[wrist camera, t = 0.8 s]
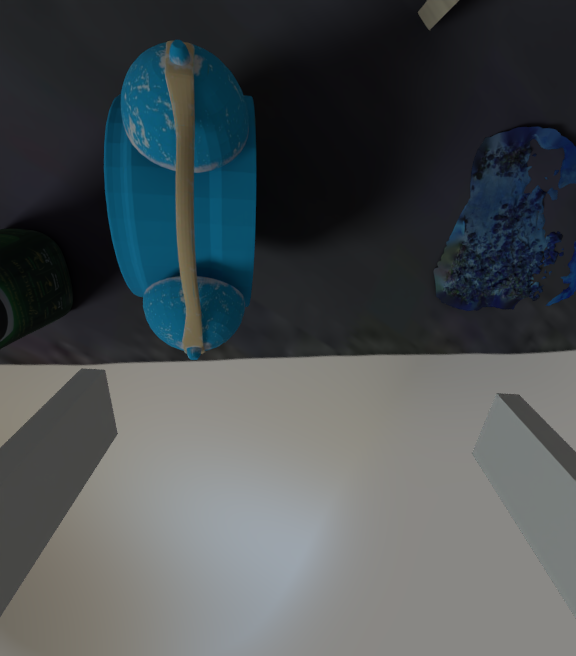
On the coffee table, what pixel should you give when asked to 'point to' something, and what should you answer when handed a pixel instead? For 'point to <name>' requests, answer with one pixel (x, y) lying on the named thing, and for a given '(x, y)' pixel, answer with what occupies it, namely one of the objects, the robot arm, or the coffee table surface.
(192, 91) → the alarm clock
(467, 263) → the rock
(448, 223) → the coffee table surface
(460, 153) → the coffee table surface
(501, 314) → the coffee table surface
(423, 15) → the gate
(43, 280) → the coffee jar
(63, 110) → the coffee table surface
